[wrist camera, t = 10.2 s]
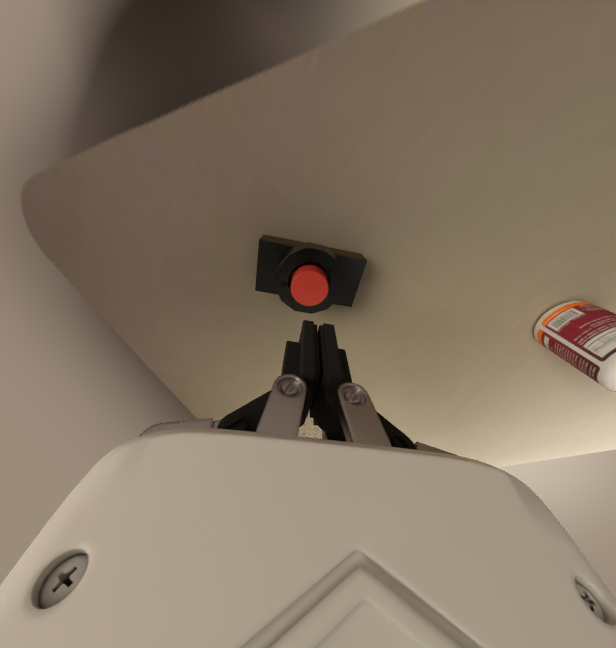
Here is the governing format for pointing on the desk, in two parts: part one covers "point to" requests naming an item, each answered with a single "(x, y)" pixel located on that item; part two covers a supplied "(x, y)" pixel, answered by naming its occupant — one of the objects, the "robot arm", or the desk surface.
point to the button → (309, 285)
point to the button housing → (289, 255)
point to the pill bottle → (582, 339)
